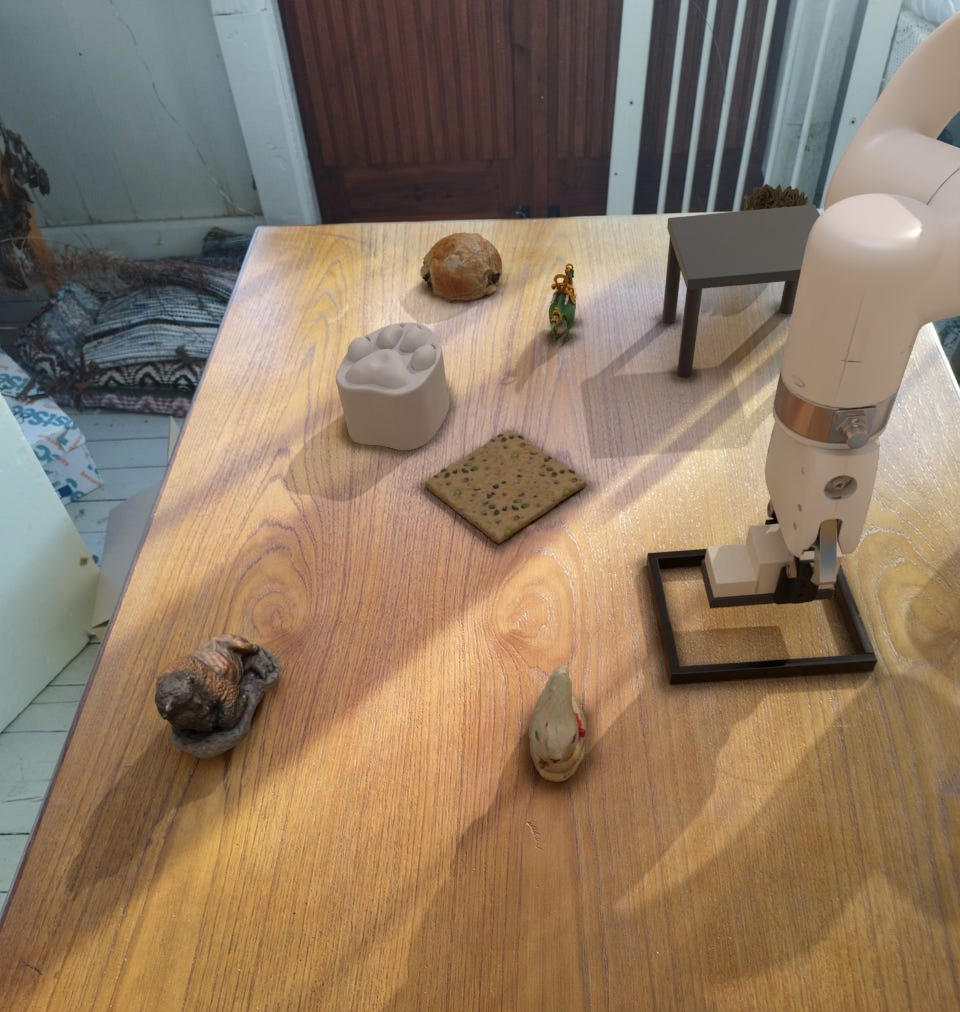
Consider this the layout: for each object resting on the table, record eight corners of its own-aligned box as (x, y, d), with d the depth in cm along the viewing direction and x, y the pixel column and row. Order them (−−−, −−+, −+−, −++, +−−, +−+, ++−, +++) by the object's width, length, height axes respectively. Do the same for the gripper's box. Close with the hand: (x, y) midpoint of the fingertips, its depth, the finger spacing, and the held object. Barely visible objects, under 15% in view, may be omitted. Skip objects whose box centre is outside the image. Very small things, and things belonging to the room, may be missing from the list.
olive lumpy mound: (760, 239, 115) (771, 177, 108) (807, 259, 111) (821, 195, 104) (722, 261, 112) (731, 198, 106) (768, 282, 108) (780, 218, 102)
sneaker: (818, 559, 74) (830, 517, 71) (832, 599, 72) (846, 558, 68) (700, 569, 75) (706, 528, 71) (709, 609, 72) (716, 568, 68)
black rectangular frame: (827, 550, 80) (831, 539, 79) (873, 671, 71) (878, 660, 70) (646, 563, 81) (647, 552, 80) (669, 684, 72) (671, 674, 71)
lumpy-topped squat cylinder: (337, 440, 96) (320, 373, 89) (381, 371, 103) (368, 304, 96) (425, 454, 93) (414, 385, 86) (464, 382, 101) (456, 313, 94)
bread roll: (473, 332, 113) (494, 283, 106) (404, 291, 112) (420, 239, 106) (500, 291, 118) (521, 243, 112) (434, 252, 118) (452, 201, 111)
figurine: (583, 309, 108) (584, 245, 101) (565, 366, 101) (565, 301, 94) (559, 307, 108) (558, 244, 102) (539, 364, 101) (537, 299, 95)
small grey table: (792, 304, 105) (814, 204, 95) (821, 367, 97) (848, 265, 87) (659, 315, 106) (668, 217, 96) (676, 379, 98) (688, 279, 88)
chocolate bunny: (502, 766, 69) (494, 694, 61) (553, 695, 73) (551, 619, 65) (563, 798, 67) (562, 728, 59) (612, 724, 70) (617, 649, 63)
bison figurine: (224, 654, 78) (186, 579, 70) (297, 663, 77) (267, 587, 69) (169, 769, 71) (120, 700, 63) (249, 781, 70) (209, 712, 62)
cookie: (422, 486, 90) (421, 479, 89) (510, 432, 94) (510, 425, 93) (498, 545, 84) (497, 538, 83) (588, 485, 88) (588, 477, 87)
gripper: (934, 476, 53) (860, 654, 67) (854, 319, 63) (805, 502, 78) (809, 487, 53) (762, 661, 68) (750, 330, 64) (720, 510, 78)
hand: (785, 575), depth 73 cm, fingers closed on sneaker, 4 cm apart
